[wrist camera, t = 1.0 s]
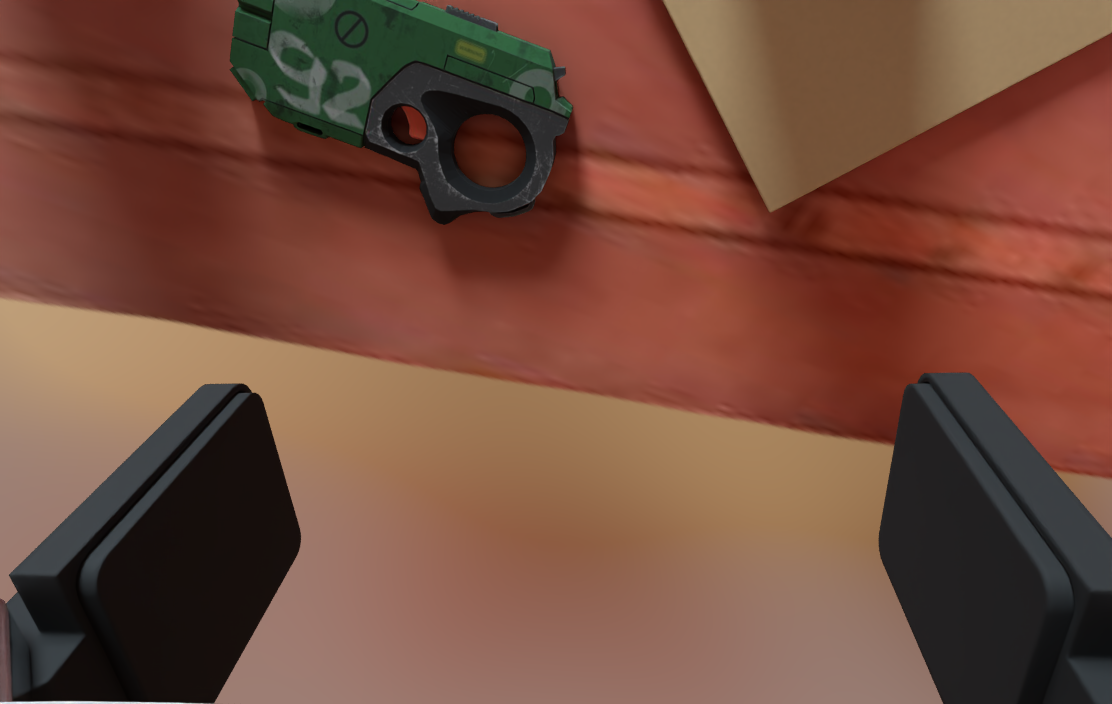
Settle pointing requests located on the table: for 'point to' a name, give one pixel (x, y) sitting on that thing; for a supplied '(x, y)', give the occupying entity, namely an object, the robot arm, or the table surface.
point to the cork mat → (863, 72)
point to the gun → (404, 87)
